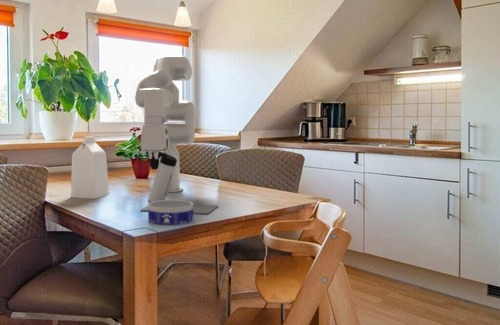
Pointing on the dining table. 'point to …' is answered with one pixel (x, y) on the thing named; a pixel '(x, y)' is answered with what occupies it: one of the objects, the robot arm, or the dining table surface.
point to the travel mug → (163, 178)
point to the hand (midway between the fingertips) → (154, 168)
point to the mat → (197, 209)
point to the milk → (89, 170)
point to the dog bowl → (170, 212)
